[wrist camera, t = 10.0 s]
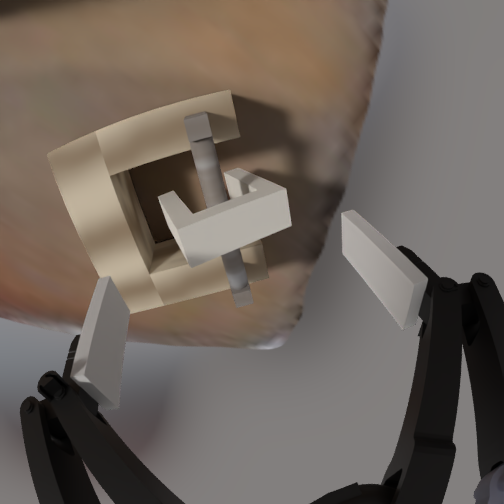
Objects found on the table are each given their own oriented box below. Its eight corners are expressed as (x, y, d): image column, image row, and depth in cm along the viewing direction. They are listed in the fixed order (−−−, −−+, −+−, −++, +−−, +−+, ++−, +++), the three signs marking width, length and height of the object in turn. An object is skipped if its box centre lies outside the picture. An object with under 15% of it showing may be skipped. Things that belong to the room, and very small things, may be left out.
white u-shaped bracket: (157, 196, 25) (177, 230, 18) (238, 167, 27) (286, 188, 20) (167, 225, 26) (191, 268, 19) (244, 196, 28) (291, 225, 22)
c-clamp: (71, 141, 23) (21, 167, 15) (222, 91, 24) (238, 87, 16) (129, 282, 33) (116, 346, 24) (256, 248, 34) (280, 306, 25)
